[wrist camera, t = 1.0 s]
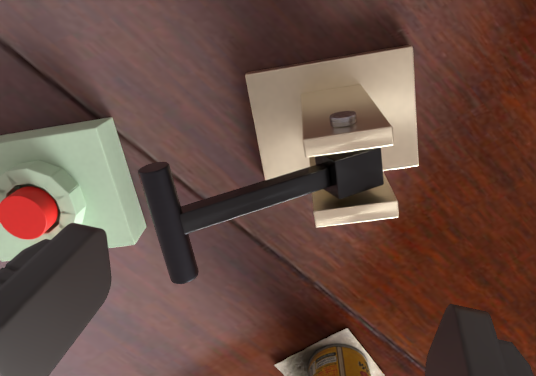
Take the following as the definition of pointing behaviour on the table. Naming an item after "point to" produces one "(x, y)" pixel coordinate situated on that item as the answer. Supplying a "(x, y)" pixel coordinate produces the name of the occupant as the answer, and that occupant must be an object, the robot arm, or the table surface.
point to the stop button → (28, 212)
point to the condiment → (331, 359)
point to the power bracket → (338, 122)
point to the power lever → (246, 200)
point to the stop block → (72, 180)
